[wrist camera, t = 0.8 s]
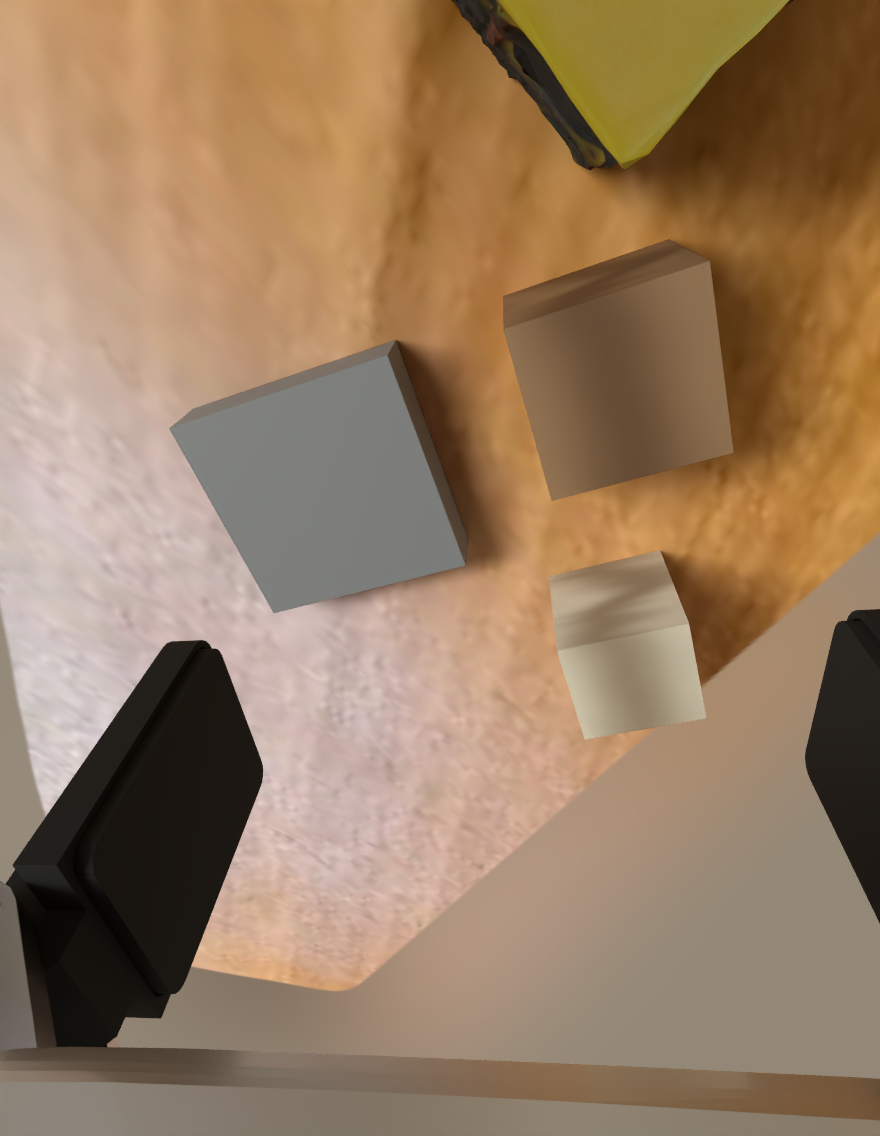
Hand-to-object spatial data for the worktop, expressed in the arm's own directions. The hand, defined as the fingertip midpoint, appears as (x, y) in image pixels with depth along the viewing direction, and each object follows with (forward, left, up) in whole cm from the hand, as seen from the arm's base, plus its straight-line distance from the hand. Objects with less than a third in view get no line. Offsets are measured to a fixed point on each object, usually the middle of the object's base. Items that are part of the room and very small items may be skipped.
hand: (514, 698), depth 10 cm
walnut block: (-4, +1, -21) cm, 21 cm away
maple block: (-2, +14, -21) cm, 25 cm away
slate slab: (+9, +3, -21) cm, 23 cm away
